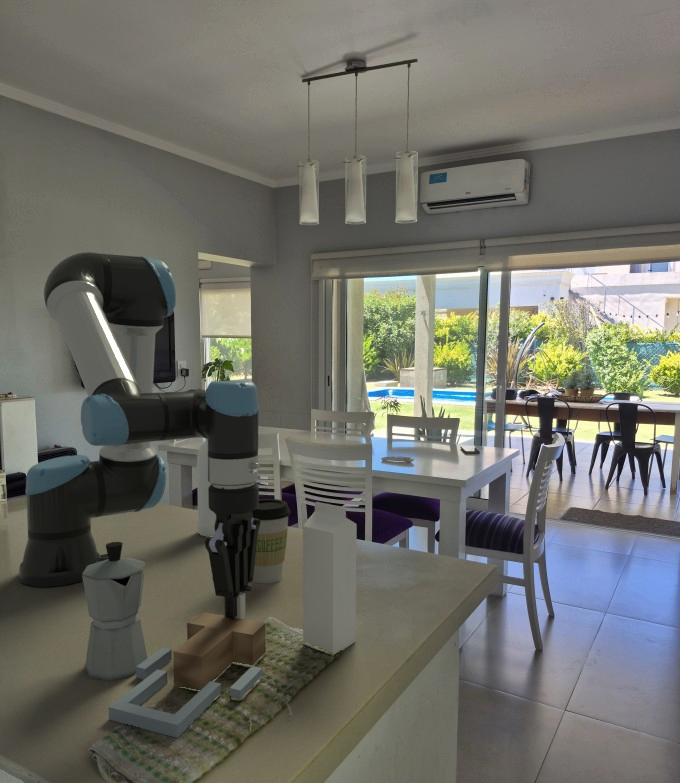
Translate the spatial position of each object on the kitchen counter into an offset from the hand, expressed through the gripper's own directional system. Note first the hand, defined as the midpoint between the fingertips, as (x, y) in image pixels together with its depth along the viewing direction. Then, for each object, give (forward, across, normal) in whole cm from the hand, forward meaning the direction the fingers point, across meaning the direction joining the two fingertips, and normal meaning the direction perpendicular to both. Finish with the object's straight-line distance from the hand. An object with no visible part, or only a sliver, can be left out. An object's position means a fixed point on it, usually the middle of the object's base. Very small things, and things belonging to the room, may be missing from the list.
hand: (235, 634), depth 95 cm
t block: (+2, -7, 0) cm, 7 cm away
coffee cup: (+2, +27, +9) cm, 29 cm away
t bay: (+2, -14, 0) cm, 14 cm away
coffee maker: (+2, -10, +14) cm, 18 cm away
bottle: (+2, +50, +34) cm, 60 cm away
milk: (+2, +6, -13) cm, 15 cm away
